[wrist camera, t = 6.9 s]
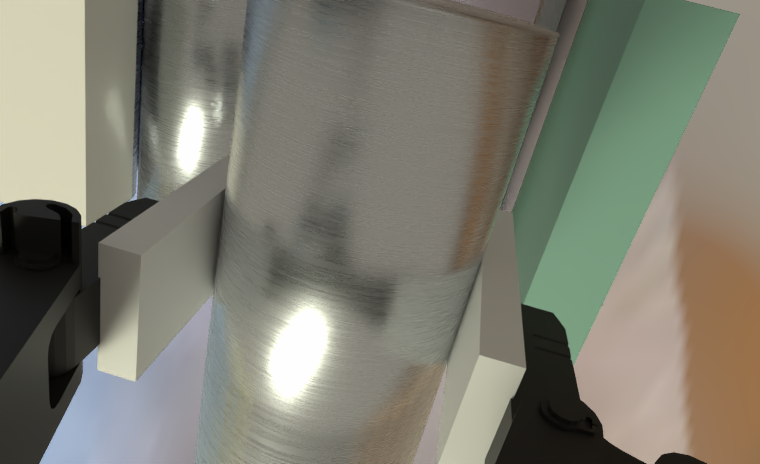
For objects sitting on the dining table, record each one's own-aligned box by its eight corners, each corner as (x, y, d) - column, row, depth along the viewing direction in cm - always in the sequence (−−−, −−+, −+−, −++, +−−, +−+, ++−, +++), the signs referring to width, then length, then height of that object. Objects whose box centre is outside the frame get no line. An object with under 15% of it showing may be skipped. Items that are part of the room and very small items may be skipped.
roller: (277, -43, 13) (216, -41, 8) (517, 16, 14) (609, 54, 9) (222, 367, 18) (164, 533, 13) (400, 395, 19) (413, 565, 14)
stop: (593, -15, 23) (648, -9, 15) (652, -1, 23) (739, 14, 15) (488, 276, 29) (488, 391, 21) (534, 289, 29) (551, 410, 21)
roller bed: (-124, -194, 25) (-292, -239, 20) (333, -80, 24) (287, -95, 18) (-81, 114, 31) (-201, 143, 26) (284, 217, 30) (238, 271, 25)
